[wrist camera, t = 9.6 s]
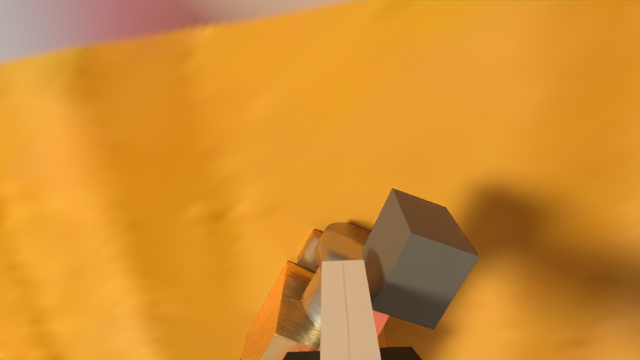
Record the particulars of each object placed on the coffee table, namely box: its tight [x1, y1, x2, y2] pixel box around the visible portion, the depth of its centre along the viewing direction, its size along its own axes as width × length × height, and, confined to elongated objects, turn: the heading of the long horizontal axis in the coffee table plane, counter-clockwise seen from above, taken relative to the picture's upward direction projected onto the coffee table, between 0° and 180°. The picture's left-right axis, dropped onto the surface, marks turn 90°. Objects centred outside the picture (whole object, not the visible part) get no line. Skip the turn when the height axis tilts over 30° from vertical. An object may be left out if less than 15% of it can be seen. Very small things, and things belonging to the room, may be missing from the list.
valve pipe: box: [240, 223, 387, 360], centre depth 24 cm, size 16×7×6 cm, turn 153°
